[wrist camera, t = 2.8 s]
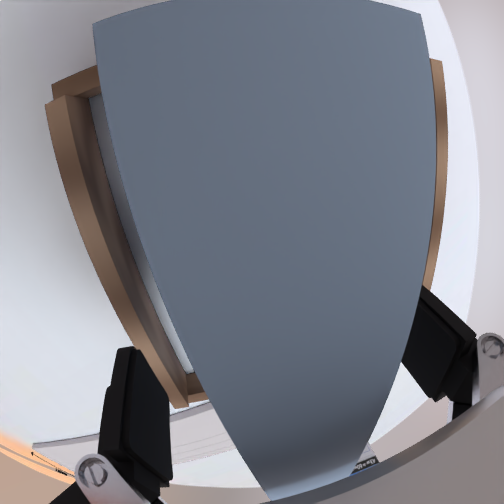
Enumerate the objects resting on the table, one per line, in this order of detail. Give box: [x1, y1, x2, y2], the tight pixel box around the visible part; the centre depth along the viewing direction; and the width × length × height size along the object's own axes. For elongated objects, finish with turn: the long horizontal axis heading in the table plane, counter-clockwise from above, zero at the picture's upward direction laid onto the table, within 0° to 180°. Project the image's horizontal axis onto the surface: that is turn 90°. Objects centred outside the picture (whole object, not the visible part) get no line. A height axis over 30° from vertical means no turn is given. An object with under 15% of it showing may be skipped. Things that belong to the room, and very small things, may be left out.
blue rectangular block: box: [93, 0, 436, 501], centre depth 11 cm, size 16×3×12 cm, turn 9°
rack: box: [45, 58, 448, 409], centre depth 15 cm, size 21×19×3 cm
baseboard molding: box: [31, 402, 236, 477], centre depth 24 cm, size 31×3×12 cm
